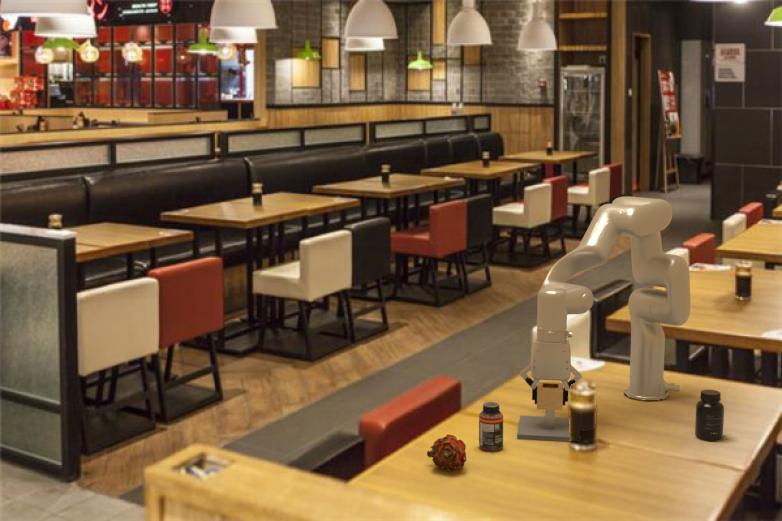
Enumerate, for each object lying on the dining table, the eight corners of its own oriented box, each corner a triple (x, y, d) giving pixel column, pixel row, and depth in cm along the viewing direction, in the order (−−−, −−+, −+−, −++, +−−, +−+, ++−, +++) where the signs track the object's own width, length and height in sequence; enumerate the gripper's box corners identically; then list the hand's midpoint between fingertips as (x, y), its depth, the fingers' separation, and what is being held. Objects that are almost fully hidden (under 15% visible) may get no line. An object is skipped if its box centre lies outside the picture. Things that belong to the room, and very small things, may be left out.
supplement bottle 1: (486, 442, 253) (486, 399, 252) (507, 447, 250) (508, 403, 248) (474, 449, 248) (474, 405, 247) (495, 454, 245) (496, 409, 243)
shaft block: (580, 422, 269) (581, 385, 267) (581, 442, 253) (582, 403, 252) (520, 419, 271) (520, 383, 270) (517, 438, 256) (517, 400, 254)
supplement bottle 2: (690, 433, 259) (692, 388, 258) (716, 432, 260) (718, 387, 258) (700, 442, 253) (702, 396, 251) (727, 441, 253) (729, 395, 251)
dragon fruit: (453, 484, 230) (439, 473, 241) (481, 460, 231) (465, 450, 243) (430, 456, 228) (417, 446, 240) (458, 432, 230) (444, 423, 242)
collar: (562, 403, 264) (563, 382, 263) (562, 410, 257) (563, 389, 257) (537, 402, 265) (538, 381, 264) (536, 409, 259) (537, 388, 258)
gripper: (585, 334, 261) (583, 401, 263) (518, 331, 264) (517, 397, 266) (586, 340, 253) (584, 409, 256) (516, 337, 256) (515, 406, 259)
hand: (549, 402), depth 261 cm, fingers closed on collar, 6 cm apart
